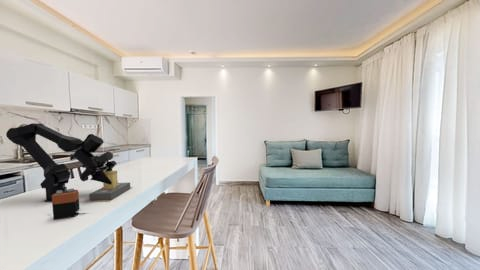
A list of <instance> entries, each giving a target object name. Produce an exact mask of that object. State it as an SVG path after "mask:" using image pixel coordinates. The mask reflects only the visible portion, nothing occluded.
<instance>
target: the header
mask: <svg viewBox="0 0 480 270" xmlns="http://www.w3.org/2000/svg"><path fill="white" fill-rule="evenodd" d="M133 188H134V187H133V186H131V182H118V187H117V188H115V189H104V187H100V188H99V189H97V190H95V191H92V192H90V193H89V200H87V201H85V204H87V203H89V204H90V203H110V202H112V201H113V200H114V199H116V198H118V197H120V196H122V195H123V194H124V193H127V192H128V191H130V190H131V189H133Z"/></svg>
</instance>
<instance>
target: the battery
mask: <svg viewBox="0 0 480 270" xmlns="http://www.w3.org/2000/svg"><path fill="white" fill-rule="evenodd" d="M51 204H52V216H53V220H59V219H60V220H62V219H67V218H74V217H77V215H78V214H79V212H78V211H79V210H80V209H81V208H80V197H79V190H78V189H75V188H67V191H62V190H59V191H57V192H56V193H55V194H53V195H52V201H51Z"/></svg>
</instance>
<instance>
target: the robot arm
mask: <svg viewBox="0 0 480 270" xmlns="http://www.w3.org/2000/svg"><path fill="white" fill-rule="evenodd" d="M5 134H6V139H8V140H9V141H10V142H12V143H13V144H15V145H18V146H20V147H22V148H23V149H24V150H25V151H26V152H27V153H28V154H29V156H30V157H32V159H33V160H34V161H35V162H36V163H37V164H38V166H39V167H40V168H42V170H43V177H44V180H42V181H41V182H40V184H39V185H40V188H41V189H45V200H44V202H45V203H47V202H52V195H53V194H55V193H56V192H57V191H59V190H62V191H67V189H68V188H67V186H66V184H69V180H70V178H71V171H70V168H68V167H67V166H66V164H64V163H56V162H55V160H54V159H53V158H52V157H51V156H50V155H49V154H48V153H47V152H46V150H44V149H43V147H42V146H41V145H40V144H39V143H38V142H37V137H36V136H37V135H38V136H39V137H42V138H44V139H45V140H46V139H47V140H48V141H50V142H53V143H55V144H56V145H57V147H58V148H59V149H60V150H62V151H63V152H65V153H70V152H74V153H71V154H70V158H69V160H70V161H74V160H77V161H78V162H80V163H81V164H82V165H81V167H82V168H83V169H84V168H85V169H84V171H83V172H81V173H80V175H79V180H80V181H81V182H86V181H88V180H89V177H90V176H91V178H90V180H91V181H96V182H100V183H102V184H103V183H106V184H111V183H112V182H111V181H110V180H109V178H108V177H107V176H106V175H105V174H104V172H106V171H113V168H114V167H115V166H117V162H116V161H115V160H113V159H114V153H112V152H111V151H106V152H103V154H100V155H94V153H96V152H97V151H98V149H99V148H101V146H102V145H103V144H104V142H105V141H104V139H103V138H101V137H99V136H98V135H94V134H93V133H89V134H88V135H87V136H86V138H84V140H82V139H81V138H78V137H75V136H70V135H66V134H63V133H61V132H59V131H57V130H54V129H52V128H50V127H48V126H46V125H45V124H44V123H38V122H37V123H34V122H33V123H29V124H26V125H22V126H18V127H11V128H9V129H8V130H7V132H6V133H5Z"/></svg>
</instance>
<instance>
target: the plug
mask: <svg viewBox="0 0 480 270" xmlns="http://www.w3.org/2000/svg"><path fill="white" fill-rule="evenodd" d="M104 174H105V175H106V176H107V177H108V178H109V180H110V181H111V182H112V183H111V184H106V183H103V182H102V185H103V187H104V189H115V188H117V187H118V183H119V182H118V180H119V179H118V170H112V171H106V172H104ZM103 187H102V188H103Z"/></svg>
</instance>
